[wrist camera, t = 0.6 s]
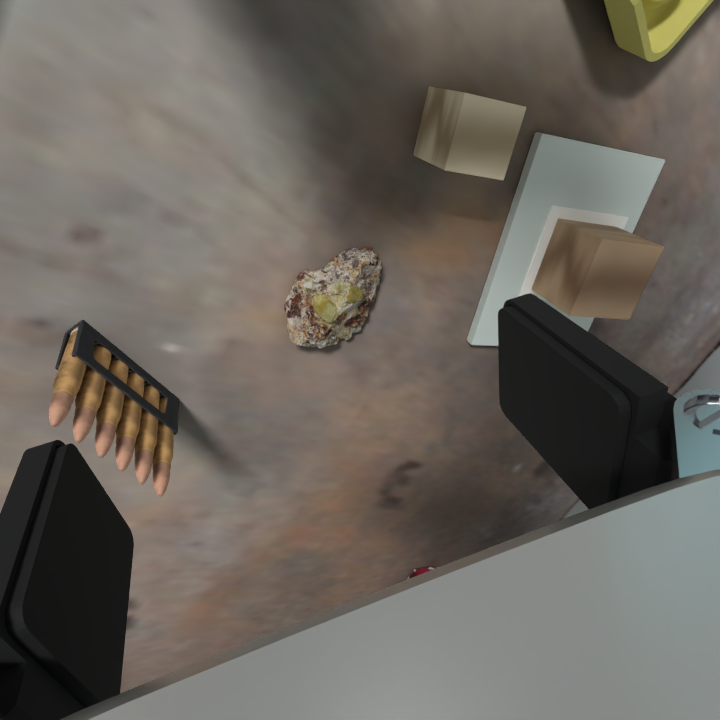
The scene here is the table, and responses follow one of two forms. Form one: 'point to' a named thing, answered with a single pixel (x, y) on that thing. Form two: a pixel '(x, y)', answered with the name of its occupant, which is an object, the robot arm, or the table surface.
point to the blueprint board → (560, 215)
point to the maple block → (468, 133)
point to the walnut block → (595, 269)
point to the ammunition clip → (115, 404)
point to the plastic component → (652, 24)
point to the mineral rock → (333, 299)
